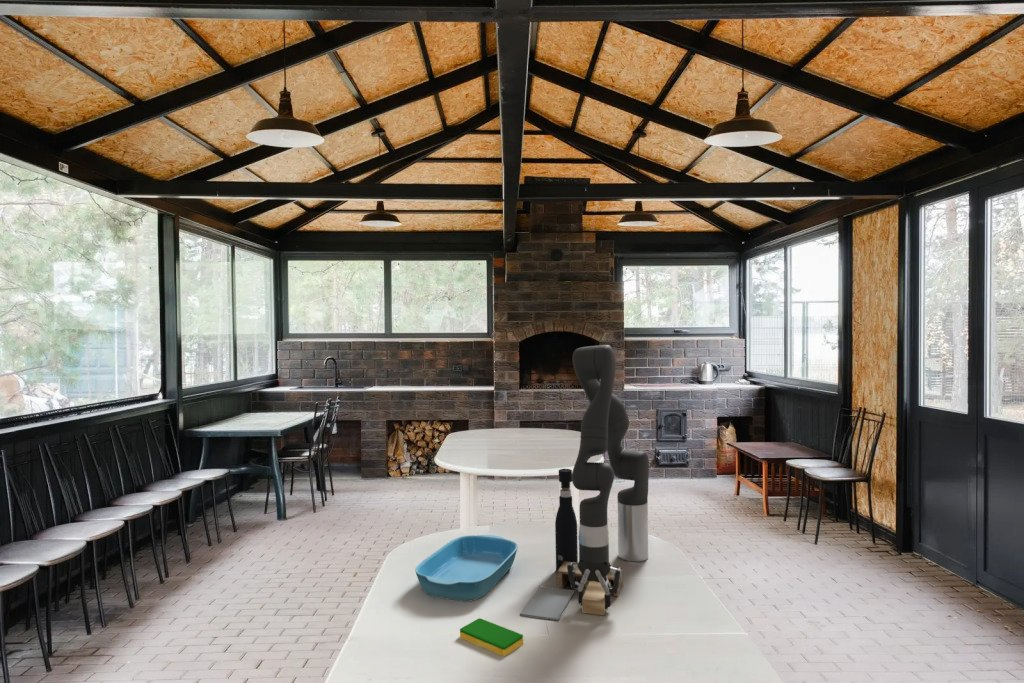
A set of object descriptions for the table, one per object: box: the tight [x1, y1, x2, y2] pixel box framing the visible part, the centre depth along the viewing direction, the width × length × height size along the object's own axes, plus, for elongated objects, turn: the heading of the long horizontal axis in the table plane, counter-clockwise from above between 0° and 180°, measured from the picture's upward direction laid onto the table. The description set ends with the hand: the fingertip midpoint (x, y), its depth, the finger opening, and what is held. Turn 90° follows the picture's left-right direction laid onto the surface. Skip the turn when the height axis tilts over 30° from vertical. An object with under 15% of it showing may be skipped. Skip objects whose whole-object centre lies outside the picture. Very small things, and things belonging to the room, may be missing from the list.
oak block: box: [581, 579, 613, 616], centre depth 162 cm, size 14×6×4 cm, turn 163°
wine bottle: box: [554, 468, 579, 574], centre depth 183 cm, size 6×6×30 cm
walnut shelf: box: [557, 561, 624, 598], centre depth 171 cm, size 7×17×5 cm, turn 71°
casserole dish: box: [415, 534, 519, 602], centre depth 179 cm, size 37×22×7 cm, turn 158°
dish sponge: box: [459, 618, 524, 657], centre depth 144 cm, size 7×14×2 cm, turn 50°
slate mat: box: [519, 585, 575, 622], centre depth 162 cm, size 17×10×1 cm, turn 161°
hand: (594, 606), depth 158 cm, fingers closed on oak block, 5 cm apart
